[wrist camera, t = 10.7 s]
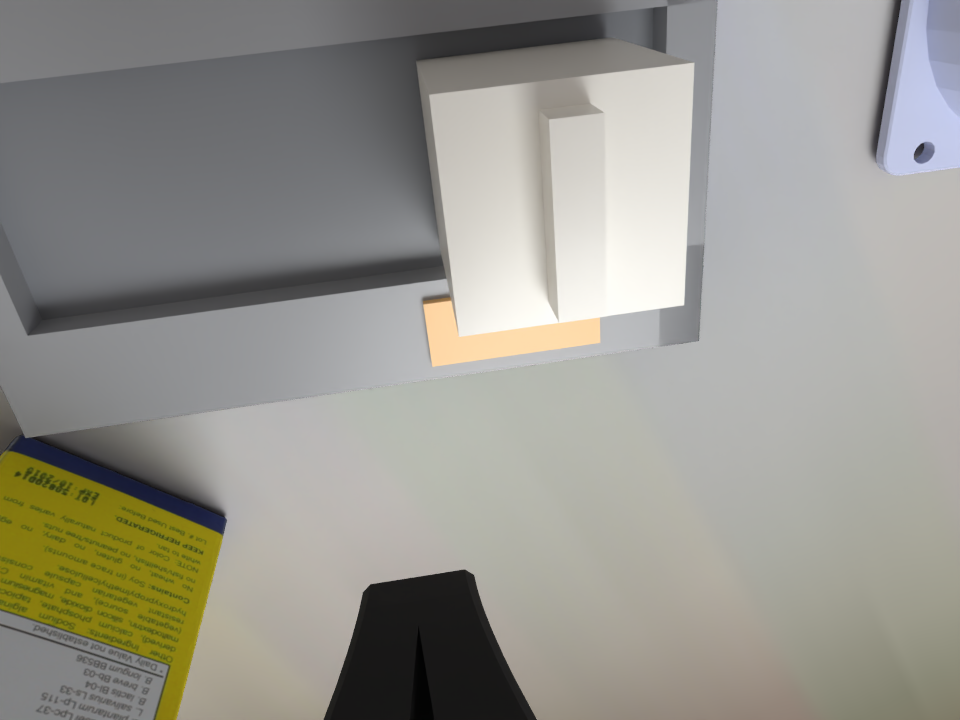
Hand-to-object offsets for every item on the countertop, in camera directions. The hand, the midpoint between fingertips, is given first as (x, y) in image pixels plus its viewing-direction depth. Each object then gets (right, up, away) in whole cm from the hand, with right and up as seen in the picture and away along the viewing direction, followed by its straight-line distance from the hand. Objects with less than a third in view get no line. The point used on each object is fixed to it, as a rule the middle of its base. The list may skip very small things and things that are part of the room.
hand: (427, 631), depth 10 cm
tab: (+2, +8, +6) cm, 10 cm away
